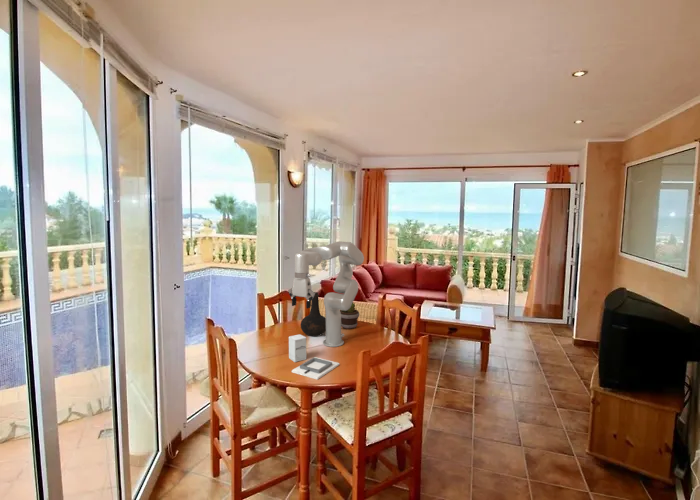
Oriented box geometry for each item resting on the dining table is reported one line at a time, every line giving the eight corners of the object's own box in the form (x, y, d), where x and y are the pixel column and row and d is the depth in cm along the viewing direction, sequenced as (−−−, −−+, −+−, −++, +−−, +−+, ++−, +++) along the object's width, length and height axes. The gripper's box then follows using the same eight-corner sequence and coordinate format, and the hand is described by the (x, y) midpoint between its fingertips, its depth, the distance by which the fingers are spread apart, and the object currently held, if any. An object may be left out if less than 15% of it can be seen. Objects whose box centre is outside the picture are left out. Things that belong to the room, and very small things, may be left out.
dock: (314, 358, 209) (314, 354, 209) (339, 364, 201) (339, 360, 201) (291, 372, 192) (291, 367, 192) (317, 379, 184) (317, 374, 184)
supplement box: (294, 362, 204) (294, 340, 202) (288, 358, 210) (288, 336, 208) (306, 359, 208) (306, 337, 206) (300, 355, 214) (300, 333, 212)
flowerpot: (334, 325, 267) (334, 297, 265) (354, 322, 274) (354, 295, 271) (343, 331, 254) (343, 302, 252) (363, 328, 260) (363, 300, 258)
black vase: (295, 333, 250) (295, 292, 247) (317, 327, 262) (317, 288, 259) (311, 340, 237) (311, 297, 234) (333, 334, 249) (333, 292, 245)
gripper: (318, 276, 203) (318, 307, 205) (293, 273, 212) (292, 303, 213) (310, 278, 197) (310, 310, 198) (284, 274, 205) (284, 305, 207)
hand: (301, 306), depth 206 cm, fingers open, 9 cm apart
